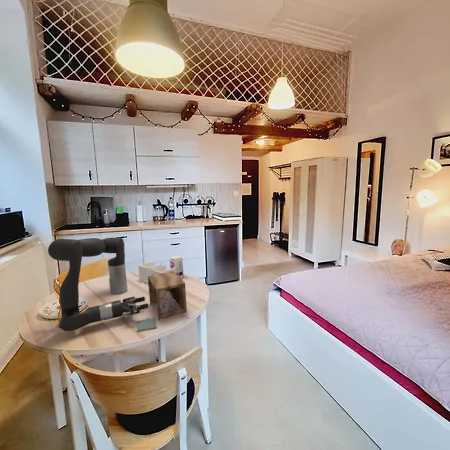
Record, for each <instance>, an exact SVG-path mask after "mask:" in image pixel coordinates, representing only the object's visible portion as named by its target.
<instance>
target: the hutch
mask: <svg viewBox="0 0 450 450" xmlns="http://www.w3.org/2000/svg"><path fill="white" fill-rule="evenodd" d="M147 286H148V296H149V305H154V304H156V309H157V320H158V321H160V320H161V321H162V320H165V319H169V318H172V317H173V318H174V317H176V316H180V315H182V314H186V313H187V312H188V310H187V307H188V306H187V294H186V292H187V291H186V282H185V281H184V280H183V278H182V279H181V278H180V277H179V276H178V275H177V274H176V273H175V272H174V271H172V272H167V273H162V274H157V275H151V276H148V284H147ZM162 290H166V291H170V293H171V295H172V297H173V301H175V303H176V304H177V306H179V308H177V309H172V310H170V311H169V312H168V311H166V312H162V311H161V310H162V309H160V297H159V293H160V291H162Z"/></svg>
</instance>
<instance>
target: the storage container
mask: <svg viewBox="0 0 450 450" xmlns="http://www.w3.org/2000/svg"><path fill="white" fill-rule="evenodd" d="M137 266H138V267H137V268H138V276H139V281H140V282H142V281H143V282H142V283H144V282H145V284H147V285H148V276H151V275H157V274H162V273H167V272H172V271H174V272H175V273H176V268H173V269H171V268H170V269H168V270H167V264H163V263H160V264H157V265H154V261H153V260H151V261H148V262H145V263H144V262H143V263H141V264H138V265H137Z"/></svg>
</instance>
